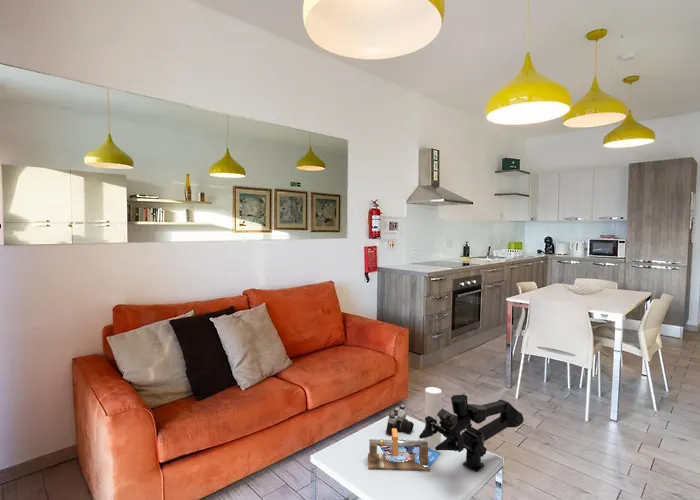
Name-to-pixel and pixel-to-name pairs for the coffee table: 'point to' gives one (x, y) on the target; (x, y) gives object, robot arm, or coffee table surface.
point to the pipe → (400, 443)
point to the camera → (399, 421)
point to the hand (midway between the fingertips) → (427, 443)
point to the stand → (382, 463)
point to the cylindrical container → (433, 413)
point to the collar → (395, 442)
